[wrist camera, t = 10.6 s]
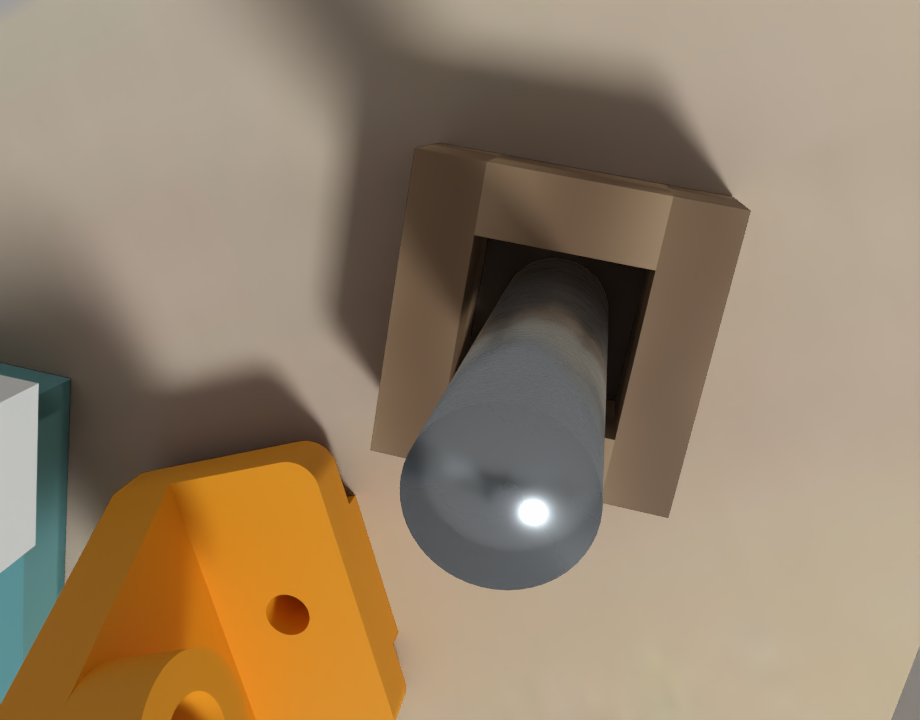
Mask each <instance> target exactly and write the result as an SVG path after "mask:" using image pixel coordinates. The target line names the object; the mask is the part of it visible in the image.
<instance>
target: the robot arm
mask: <svg viewBox="0 0 920 720" xmlns="http://www.w3.org/2000/svg"><path fill="white" fill-rule="evenodd" d="M38 389H39V383H35V382H30V381H26V380H21V379H17V378H12V377H7V376H3V375H0V573H1V572H2V571H3V570H5V569H6V568H7V567H9V566H10V565H11V564H12V563H14V562H15V561H16V560H17V559H19V558H20V557H21V556H22V555H24V554H25V553H26V552H28V551H29V550H30V549H31V548H33V547H34V546H35V541H36V491H37V440H38ZM892 720H920V647H919V650H918V652H917V655H916V657H915V660H914V663H913V665H912V668H911V670H910V673H909V676H908V678H907V681H906V683H905V686H904V688H903V691H902V694H901V696H900V699H899V701H898V704H897V707H896V709H895V712H894V714H893V717H892Z"/></svg>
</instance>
